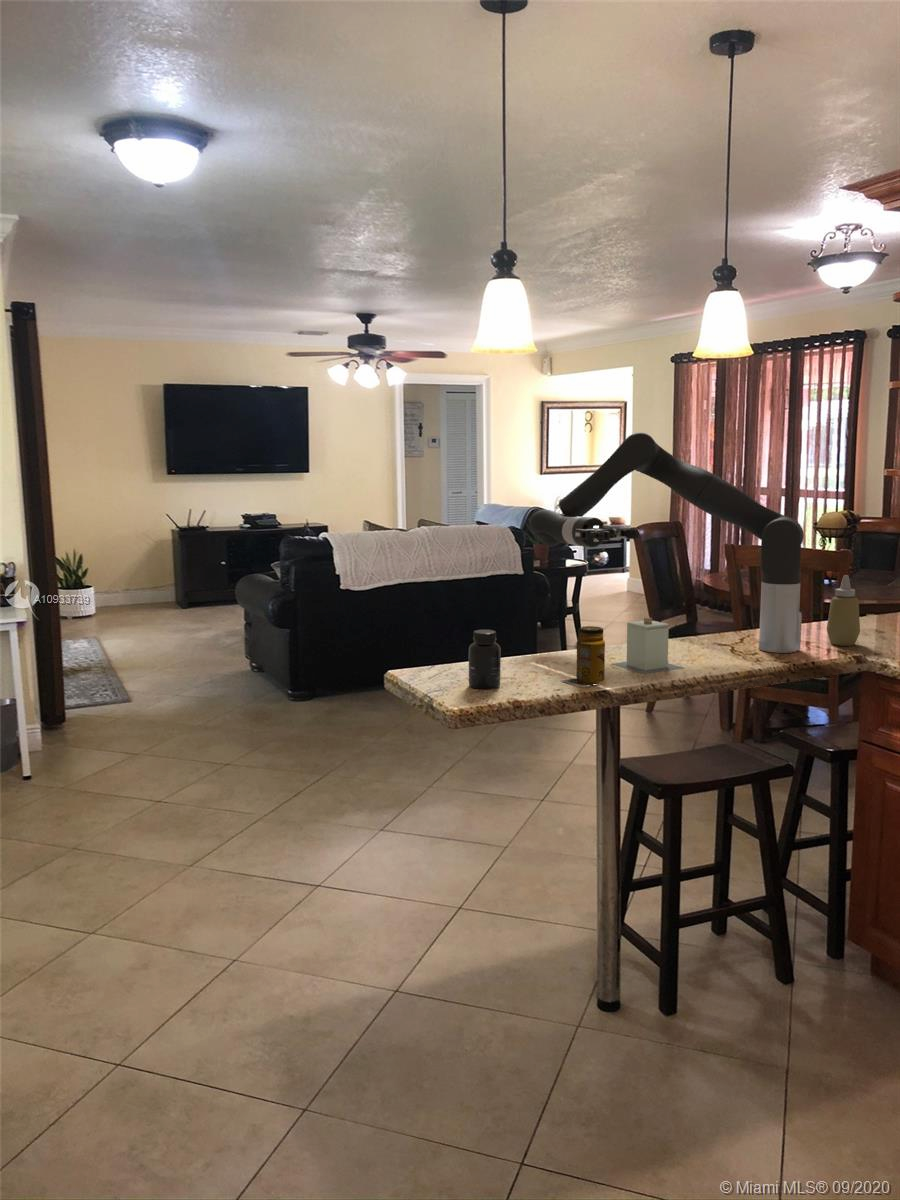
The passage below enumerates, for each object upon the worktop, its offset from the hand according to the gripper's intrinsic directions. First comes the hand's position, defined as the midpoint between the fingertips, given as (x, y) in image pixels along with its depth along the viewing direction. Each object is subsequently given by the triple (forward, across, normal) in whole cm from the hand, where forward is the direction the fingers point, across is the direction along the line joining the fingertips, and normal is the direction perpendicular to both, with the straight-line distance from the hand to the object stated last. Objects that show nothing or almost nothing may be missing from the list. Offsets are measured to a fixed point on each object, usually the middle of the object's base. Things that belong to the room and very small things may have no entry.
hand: (623, 535), depth 216 cm
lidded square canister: (+12, -2, +29) cm, 32 cm away
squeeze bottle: (+15, +60, +30) cm, 69 cm away
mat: (+12, -2, +30) cm, 32 cm away
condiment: (+16, -22, +30) cm, 41 cm away
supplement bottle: (+8, -43, +30) cm, 53 cm away
